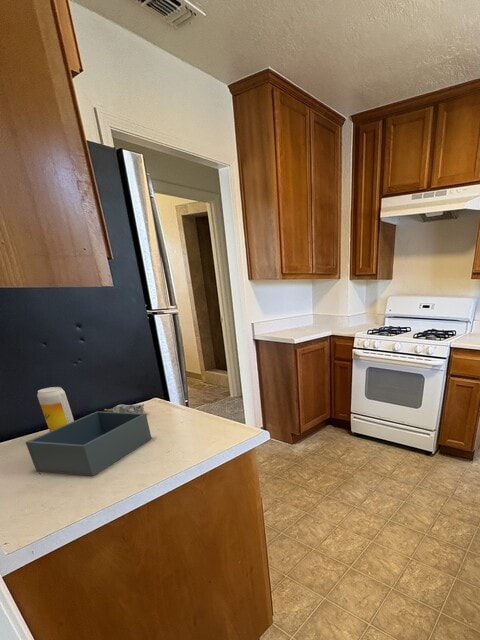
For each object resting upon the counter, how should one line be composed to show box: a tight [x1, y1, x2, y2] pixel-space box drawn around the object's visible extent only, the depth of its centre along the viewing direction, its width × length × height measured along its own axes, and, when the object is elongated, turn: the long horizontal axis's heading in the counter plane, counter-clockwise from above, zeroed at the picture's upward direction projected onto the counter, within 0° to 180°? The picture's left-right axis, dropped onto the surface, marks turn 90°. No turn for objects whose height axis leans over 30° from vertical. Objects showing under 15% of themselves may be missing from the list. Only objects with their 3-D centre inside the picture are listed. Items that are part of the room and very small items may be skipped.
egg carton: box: [103, 403, 146, 414], centre depth 117 cm, size 11×8×4 cm
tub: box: [25, 410, 153, 477], centre depth 91 cm, size 16×22×8 cm
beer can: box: [36, 386, 75, 432], centre depth 98 cm, size 6×6×15 cm
